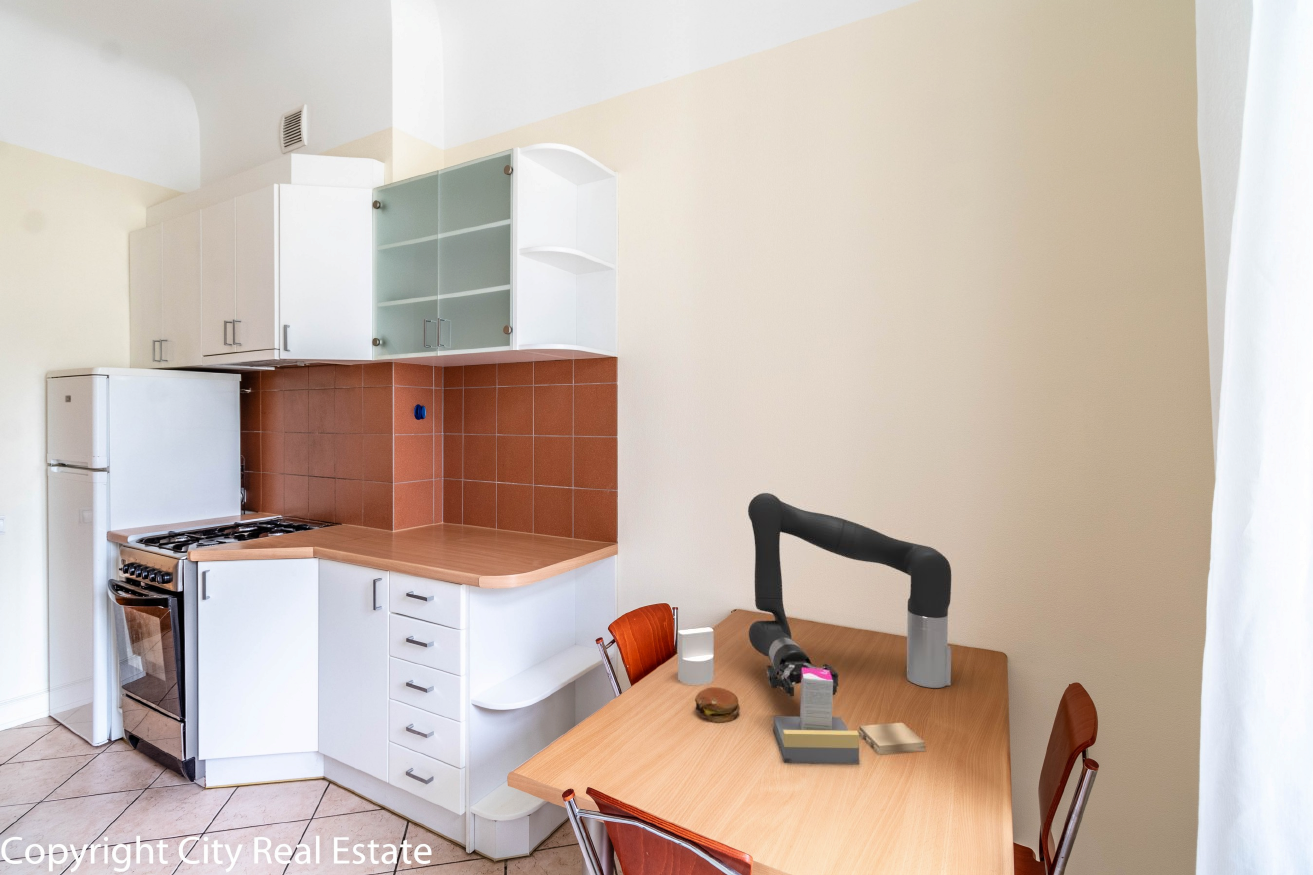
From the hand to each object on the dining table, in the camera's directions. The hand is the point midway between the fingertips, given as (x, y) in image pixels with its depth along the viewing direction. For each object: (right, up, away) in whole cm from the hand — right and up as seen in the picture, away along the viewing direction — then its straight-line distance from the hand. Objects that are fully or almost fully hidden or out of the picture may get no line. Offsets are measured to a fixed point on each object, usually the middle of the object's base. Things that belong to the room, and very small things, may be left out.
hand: (813, 690), depth 120 cm
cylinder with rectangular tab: (-22, -10, +31) cm, 39 cm away
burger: (-18, -11, +13) cm, 24 cm away
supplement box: (0, -8, -1) cm, 8 cm away
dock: (0, -10, -1) cm, 10 cm away
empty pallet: (+16, -11, 0) cm, 19 cm away
